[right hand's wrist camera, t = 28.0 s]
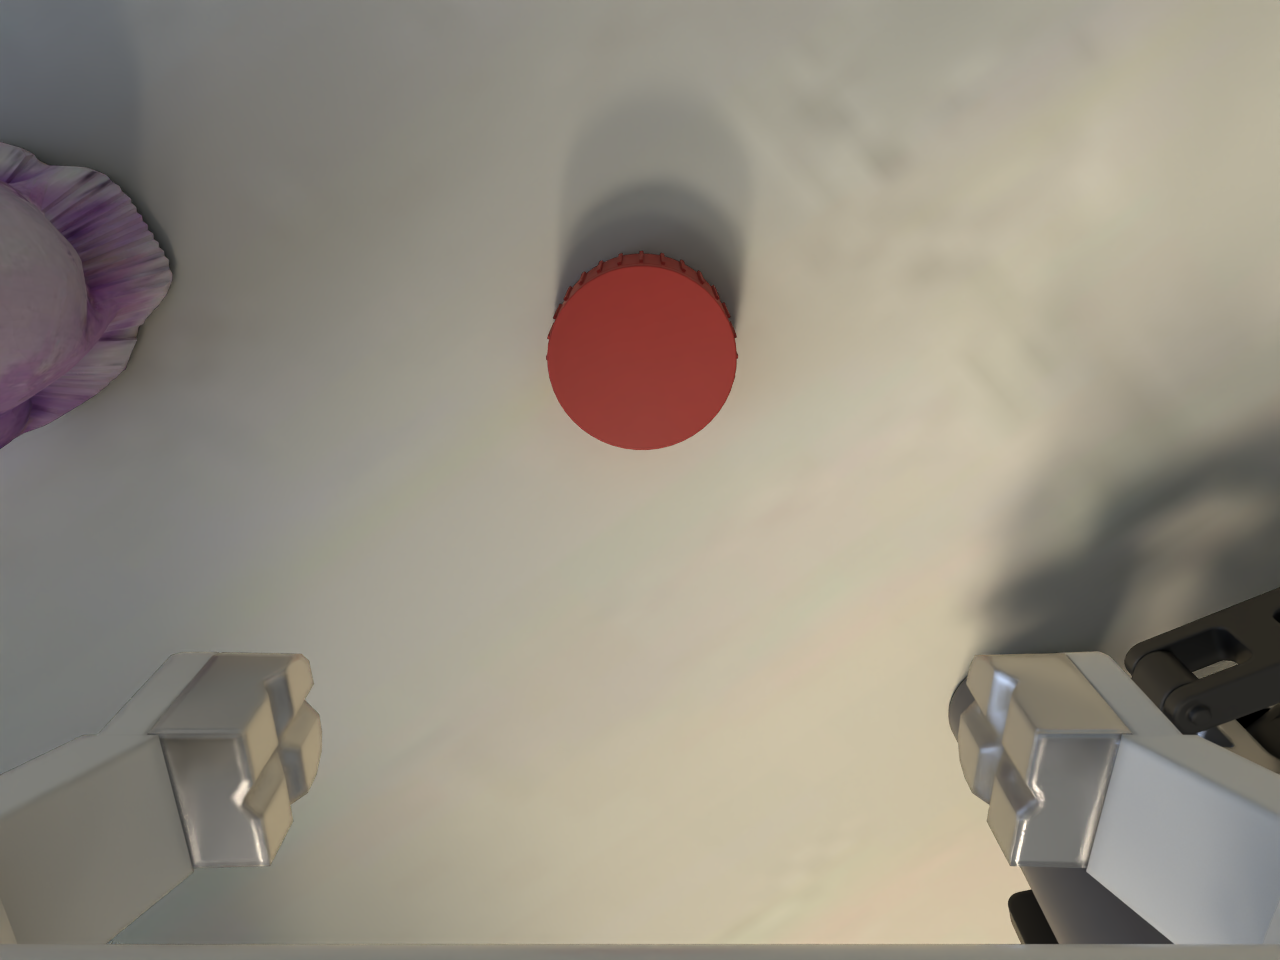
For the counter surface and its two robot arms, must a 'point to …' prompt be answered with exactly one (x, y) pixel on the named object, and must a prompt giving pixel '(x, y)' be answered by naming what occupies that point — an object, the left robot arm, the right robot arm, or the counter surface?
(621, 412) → the lid
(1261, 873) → the right robot arm
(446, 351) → the counter surface
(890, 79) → the counter surface
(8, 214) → the figurine
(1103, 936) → the cylinder
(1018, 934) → the left robot arm
